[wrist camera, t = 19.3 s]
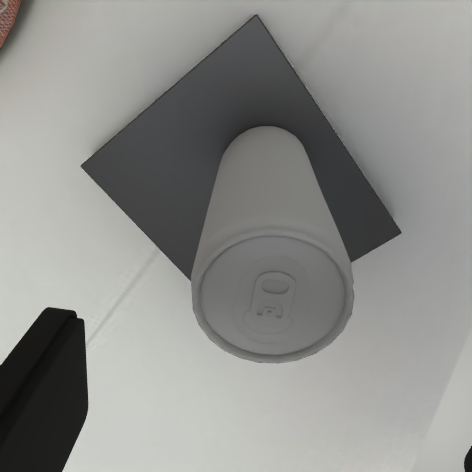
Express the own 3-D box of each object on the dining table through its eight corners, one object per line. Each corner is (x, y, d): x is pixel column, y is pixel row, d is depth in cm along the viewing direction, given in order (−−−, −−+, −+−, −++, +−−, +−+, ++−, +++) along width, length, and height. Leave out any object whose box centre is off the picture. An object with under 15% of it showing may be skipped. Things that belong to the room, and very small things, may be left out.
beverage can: (215, 202, 23) (180, 355, 13) (225, 116, 21) (194, 213, 10) (299, 215, 23) (335, 376, 13) (319, 130, 21) (382, 241, 11)
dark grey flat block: (398, 228, 26) (418, 256, 23) (235, 323, 30) (233, 358, 27) (256, 14, 21) (256, 13, 18) (83, 163, 25) (58, 184, 21)
